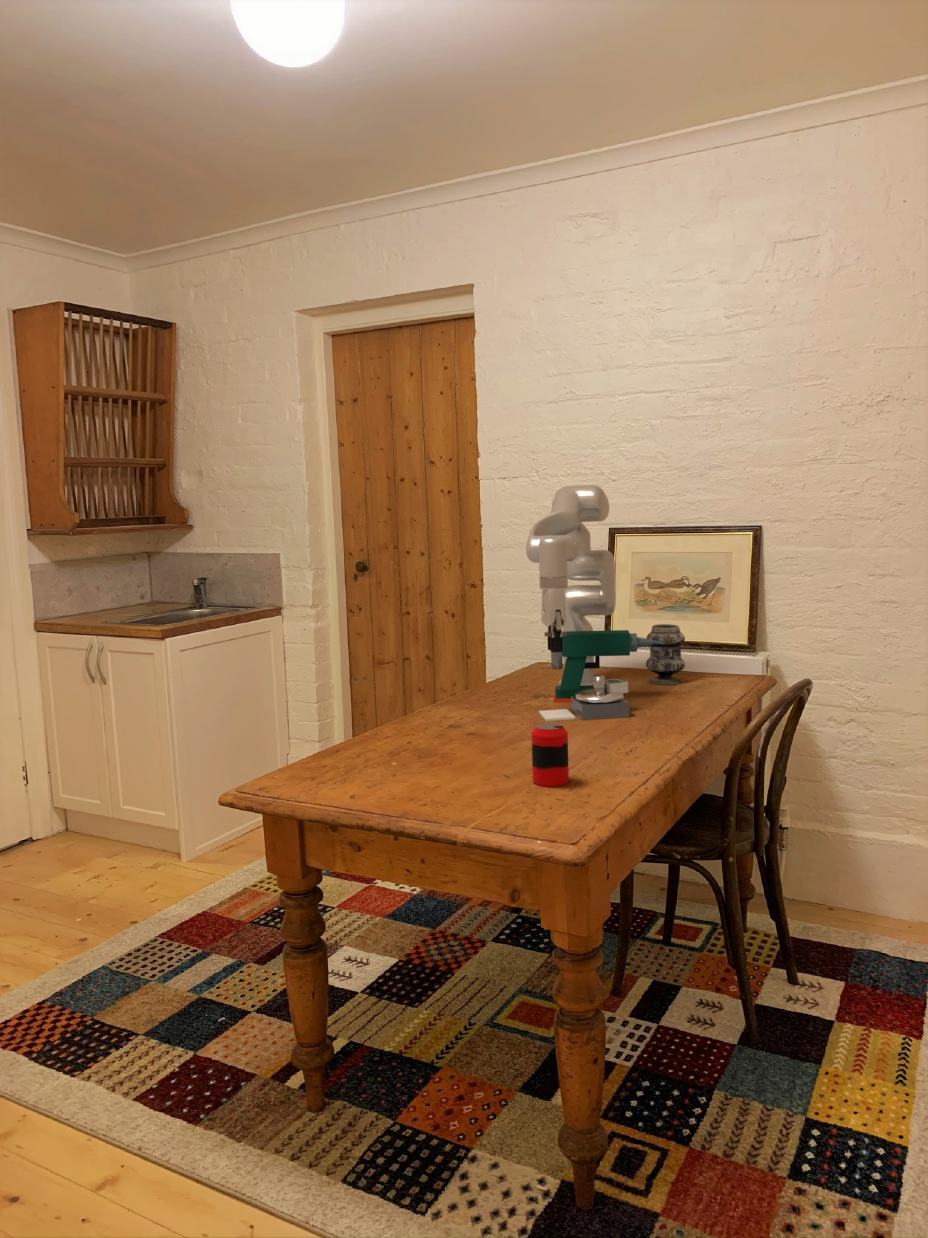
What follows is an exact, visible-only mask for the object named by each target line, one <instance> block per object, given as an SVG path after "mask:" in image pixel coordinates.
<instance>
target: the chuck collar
mask: <svg viewBox="0 0 928 1238" xmlns="http://www.w3.org/2000/svg"><path fill="white" fill-rule="evenodd" d="M627 693H629V681H628V680H624V679H623V680H622V679H619V678H609V679H608V678H607V679H606V675H603V674H594V676H593V690H585V691H580V692H577V693H576V699H577V700H579V701H583V702H592V703H606V702H615V701H619V700H622V699H623V698H624V699H625V696H624V694H627Z"/></svg>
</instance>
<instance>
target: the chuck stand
mask: <svg viewBox="0 0 928 1238" xmlns="http://www.w3.org/2000/svg"><path fill="white" fill-rule="evenodd" d="M570 708H571V709H570V710H571V711H572V712H573V713H574V714H575V715H576V716H577V717H578V718H579V719H580V720H582V721H589V720H604V719H606V720H607V719H622V718H623V719H624V718H630V702H629V701H628V700H626V698H625V697H624V698H623V699H622V700H619V701H615V702H606V703H592V702H583V701H579V700H577V699H576V695H575V696H571V703H570Z"/></svg>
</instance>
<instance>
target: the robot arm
mask: <svg viewBox="0 0 928 1238" xmlns="http://www.w3.org/2000/svg"><path fill="white" fill-rule="evenodd" d="M554 495H555V496H554V498H553V500H552V503H551V510H550V513H549V514H547V515H545V516H543V517H542V518H541V519H540V520H538V521H536V523H534V524H533V525H532V527H531V528H530V530H529V533H528V537H527V540H526V547H525V549H526V556H527V558H528V559H529V561H530V562H532V563H536V564H538V565H539V567H538V569H539V589H540V590H541V592H542V593H541V623H542V624H543V625H545V626H547V632H551V636H552V637H550V636H547V651H550V653H551V652H562V651H563V641H562V632H563V631H594V628H593V626H592V624H591V623H590V622H589V621H588V619H587V618H586V617H589V616H609V615H612V614H613V613H614V611H615V609H616V598H617V595H616V594H617V593H616V563H615V562H616V561H615V558H614V555H613V553H612V552H611V551H609V550H606V549H592V548H591V533H590V531H589V529H588V528H587V527H586V525H584V523H587V522H588V523H589V522H603V521H605V520H606V519H607V518H608V516H609V513H610V502H609V498H608V496H607V494H606V493H605V492H604V490H603V489H602V488H601V487H600V486H599V485H596V484H587V485H586V484H583V485H565V486H563V487H561V488H559V489H558V490H557V491H556V493H555V494H554ZM568 580H569V581H587V582H588V581H589V582H590V581H591V582H592V581H594V582H596V581H597V582H599V583H600V584H574V585H573V584H572V585H569V582H568ZM566 658H567V657H562V659H563V668H564V667H565V663H566ZM594 660H595V656H587V659H586V662H595V661H594ZM594 675H595V669H584V672H583V676H582V680H581V685H580V686H587V685H593V676H594ZM561 680H562V678H561V679H559V682H558V683H559V685H558V686H560V684H561Z"/></svg>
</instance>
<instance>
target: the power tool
mask: <svg viewBox="0 0 928 1238" xmlns="http://www.w3.org/2000/svg"><path fill="white" fill-rule="evenodd" d="M562 632H564V631H563V630H562ZM562 641H563V651H562V658H563V657H567V658H566V663H565V667H564V666H563V670H562V671H563V672H562V676H561V679H562V680H561V679H560V680H561V684H560V685H555V686H554V687H555V688H554V692H555V693H554V694H553V703H554V704H556V703H557V704H558V703H559V704H562V703H565V704H566V703H567V704H568V703H570V704H571V696H575V695H576V693H577V692H580V691H585V690H593V685H587V686H580V685H581V680H582V676H583V672H584V669H594V670H595V669H601V666H600V663H601V662H600V661H601V660H600V657H617V656H618V657H619V656H620V657H622V656H623V657H624V656H627V657H629V656H631V653H635V652H636V653H637V652H638V649H639V648H642V647H646V646H647V647H648V646H650V645H652V644H657V643H661V642H660V641H655V640H650V639H647V638H643V637H638V633H636V632H635V633H633V632H632V633H631V632H630V631H629V630H628V629H621V630H620V629H618V630H617V629H615V630H593V631H567V636H562ZM587 656H594V660H595V661H594V662H586V659H587Z"/></svg>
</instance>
